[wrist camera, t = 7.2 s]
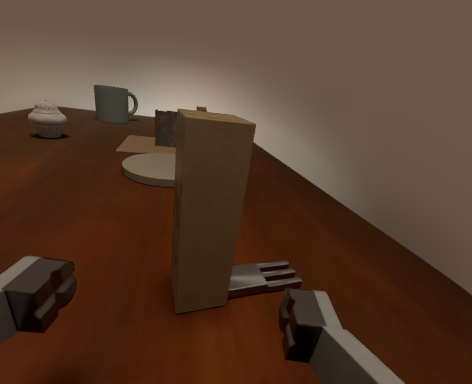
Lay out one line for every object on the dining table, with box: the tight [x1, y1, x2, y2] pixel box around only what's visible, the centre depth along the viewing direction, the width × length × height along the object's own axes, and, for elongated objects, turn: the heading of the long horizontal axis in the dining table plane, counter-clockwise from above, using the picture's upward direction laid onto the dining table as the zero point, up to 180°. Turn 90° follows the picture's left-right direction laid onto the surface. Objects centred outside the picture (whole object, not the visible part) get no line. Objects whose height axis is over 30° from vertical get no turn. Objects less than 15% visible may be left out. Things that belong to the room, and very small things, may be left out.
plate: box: [122, 153, 176, 187], centre depth 39 cm, size 14×14×1 cm
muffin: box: [28, 100, 67, 138], centre depth 47 cm, size 6×6×7 cm
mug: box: [94, 85, 138, 123], centre depth 76 cm, size 14×9×10 cm
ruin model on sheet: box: [116, 107, 207, 154], centre depth 54 cm, size 25×16×10 cm, turn 104°
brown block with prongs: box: [171, 109, 302, 314], centre depth 16 cm, size 10×3×12 cm, turn 109°
